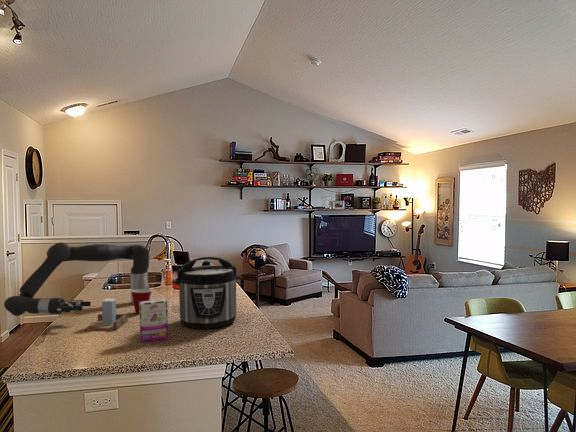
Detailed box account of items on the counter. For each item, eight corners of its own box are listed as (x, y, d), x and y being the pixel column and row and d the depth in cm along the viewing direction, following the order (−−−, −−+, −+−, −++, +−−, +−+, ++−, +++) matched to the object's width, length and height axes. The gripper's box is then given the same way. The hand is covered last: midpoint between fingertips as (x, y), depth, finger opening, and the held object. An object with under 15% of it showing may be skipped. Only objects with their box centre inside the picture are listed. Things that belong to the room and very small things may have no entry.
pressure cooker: (163, 328, 198) (163, 259, 197) (194, 313, 225) (194, 252, 224) (222, 334, 189) (222, 262, 188) (247, 317, 216) (247, 254, 215)
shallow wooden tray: (98, 321, 209) (98, 314, 209) (127, 321, 210) (127, 314, 209) (84, 330, 194) (84, 322, 194) (116, 330, 195) (115, 322, 194)
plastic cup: (157, 311, 229) (156, 288, 228) (142, 316, 219) (141, 292, 219) (141, 309, 233) (141, 287, 233) (126, 313, 224) (125, 290, 223)
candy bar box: (166, 336, 187) (166, 298, 186) (168, 339, 182) (167, 300, 181) (139, 339, 182) (138, 300, 182) (140, 342, 178) (139, 303, 177)
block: (106, 321, 205) (106, 298, 205) (116, 321, 205) (115, 298, 205) (102, 324, 200) (102, 300, 200) (112, 324, 200) (112, 300, 200)
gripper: (43, 301, 194) (79, 301, 195) (59, 294, 209) (92, 294, 209) (43, 317, 195) (79, 317, 195) (59, 310, 209) (93, 310, 209)
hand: (86, 306), depth 202 cm, fingers open, 8 cm apart
